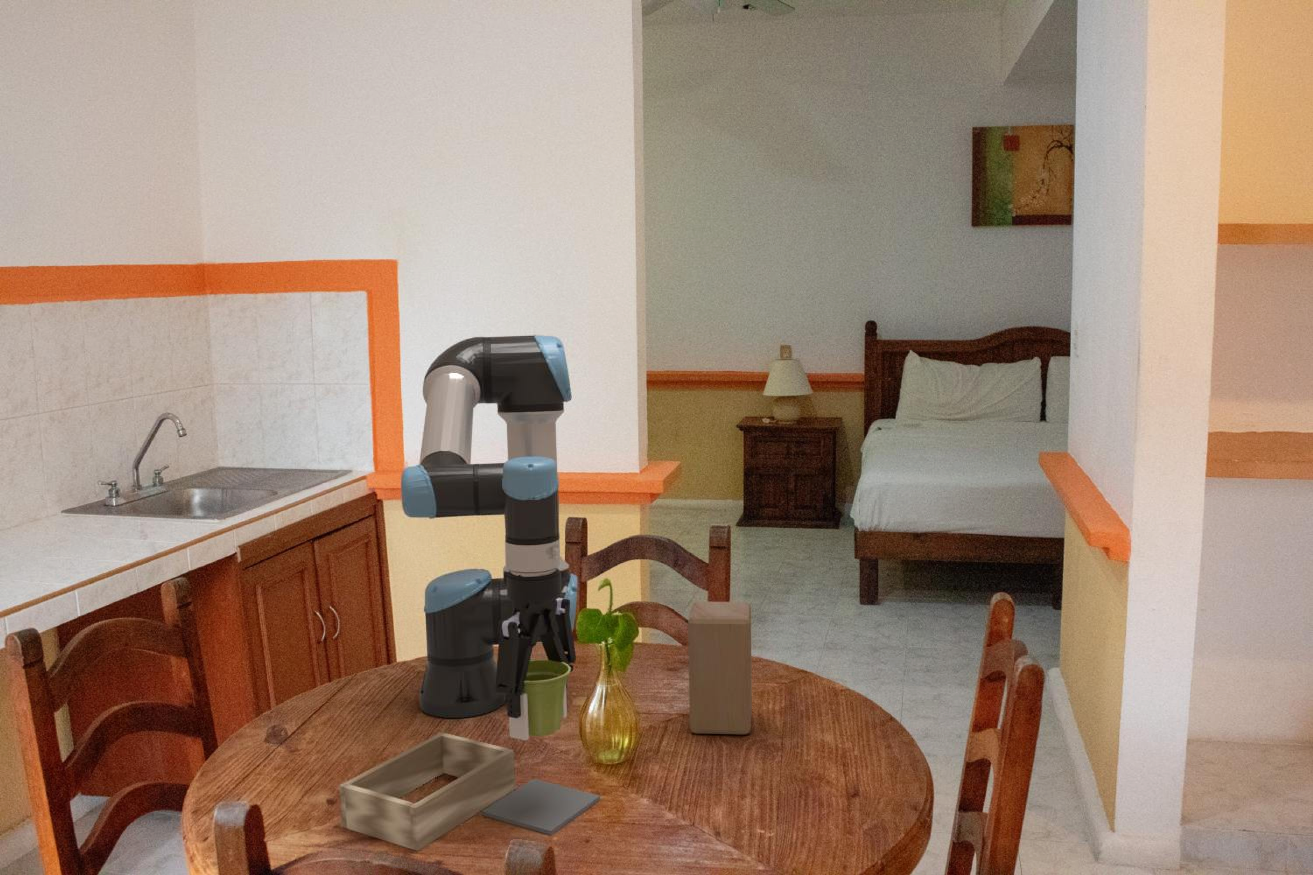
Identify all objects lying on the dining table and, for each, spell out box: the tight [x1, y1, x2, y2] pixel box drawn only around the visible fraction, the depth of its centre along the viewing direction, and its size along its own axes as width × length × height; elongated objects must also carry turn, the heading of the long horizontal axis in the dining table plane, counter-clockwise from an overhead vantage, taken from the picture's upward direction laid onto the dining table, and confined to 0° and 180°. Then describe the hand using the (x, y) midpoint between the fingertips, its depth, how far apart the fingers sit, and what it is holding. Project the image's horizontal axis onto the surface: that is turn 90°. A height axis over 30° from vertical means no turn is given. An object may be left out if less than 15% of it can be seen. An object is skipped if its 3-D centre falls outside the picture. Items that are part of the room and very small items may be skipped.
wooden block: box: [687, 601, 753, 735], centre depth 191 cm, size 10×10×20 cm
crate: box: [338, 731, 516, 852], centre depth 164 cm, size 14×21×6 cm, turn 149°
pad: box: [481, 778, 601, 836], centre depth 163 cm, size 12×12×1 cm
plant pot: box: [515, 658, 571, 737], centre depth 161 cm, size 9×9×9 cm
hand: (538, 726), depth 161 cm, fingers closed on plant pot, 8 cm apart
